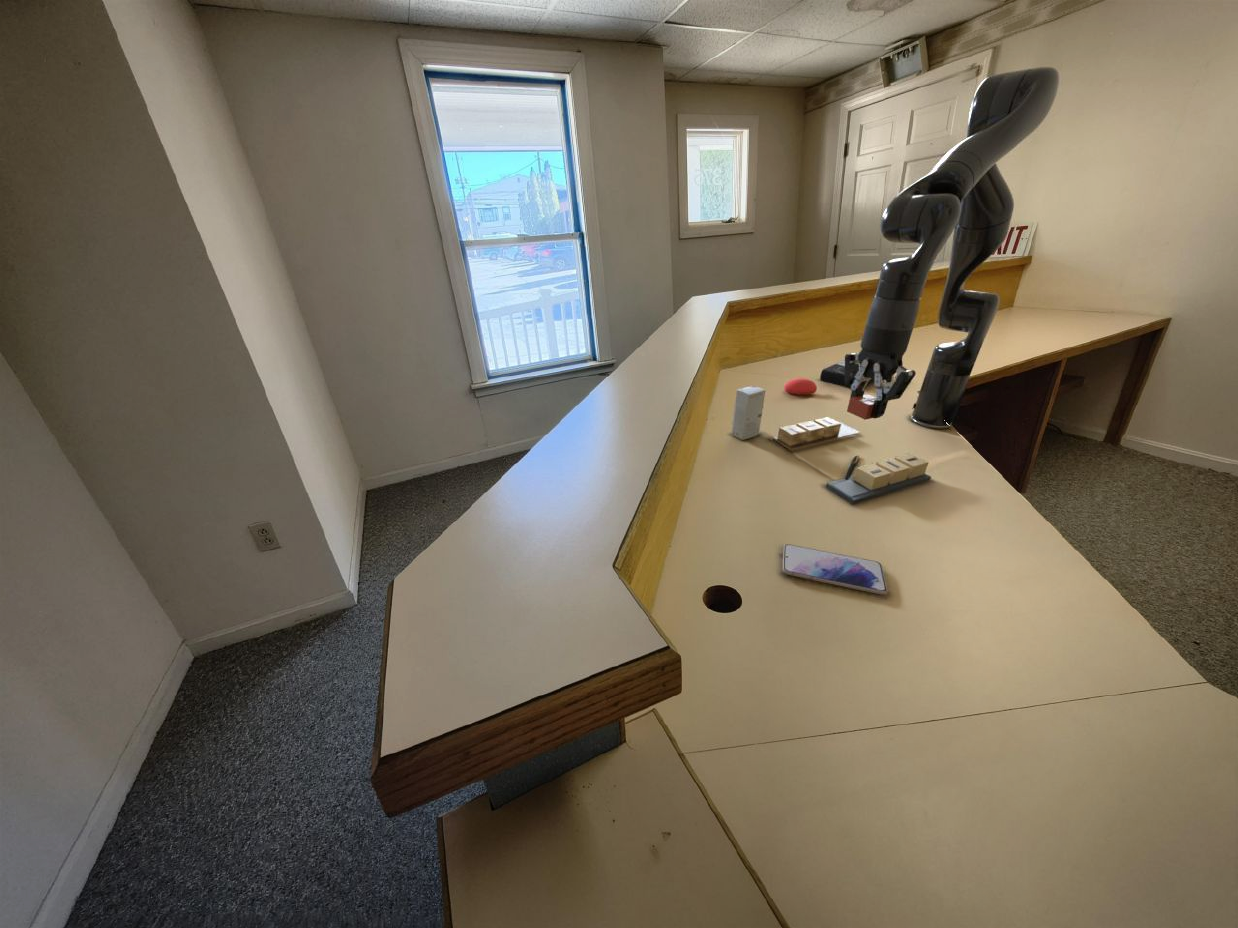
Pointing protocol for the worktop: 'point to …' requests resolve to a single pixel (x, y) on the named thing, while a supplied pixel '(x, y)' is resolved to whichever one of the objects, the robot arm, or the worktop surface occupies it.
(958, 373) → the robot arm
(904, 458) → the wooden block rack
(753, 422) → the cosmetic box
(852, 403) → the red plus-sign block
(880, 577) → the smartphone
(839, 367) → the multimeter
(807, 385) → the stress ball
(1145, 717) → the worktop surface
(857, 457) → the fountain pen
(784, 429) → the letter tile tray
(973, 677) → the worktop surface
